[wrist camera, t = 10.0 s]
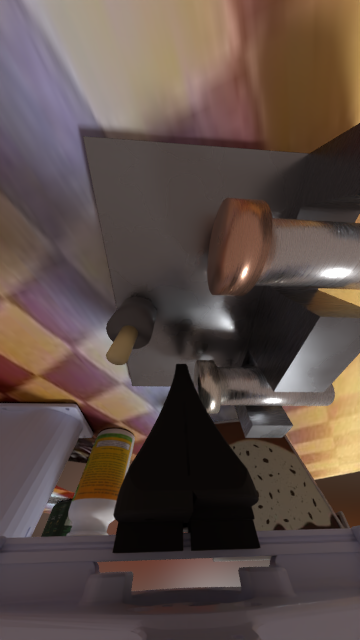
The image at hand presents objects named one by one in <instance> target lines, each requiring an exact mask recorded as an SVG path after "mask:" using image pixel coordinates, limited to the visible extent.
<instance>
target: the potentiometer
mask: <svg viewBox="0 0 360 640" xmlns="http://www.w3.org/2000/svg"><path fill="white" fill-rule="evenodd" d="M156 315H157V314H156V309H155V307H154V305H153V304H152V303H151V302H150V301H148V300H147V299H145V298H142V297H130V298H128V299H126V300H125V301H124V302H123V303H122V304H121V306H120V307H119V308H118V309H117V311H116V312H115V313H114V314H113V316H112V317H111V318H110V320H109V321H108V323H107V327H106V330H107V334H108V336H109V338H110V339H111V340H112V341H113V344H112V345H111V347H110V349H109V351H108V352H107V354H106V357H107V359H108V361H109V362H111V363H112V364H115V365H123V364H125V363H127V361H128V359H129V356H130V354H131V351H132V349H139V348H142V347H144V346H146V345H147V344H148V343H149V341H150V340H151V336H152V332H153V328H154V324H155V320H156Z"/></svg>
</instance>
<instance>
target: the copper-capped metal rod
mask: <svg viewBox="0 0 360 640" xmlns="http://www.w3.org/2000/svg"><path fill="white" fill-rule="evenodd" d="M207 280H208V287H209V291H210V293H211V294H212V295H224V296H243V295H245V294H247V293H248V292H249V291H250V290H251V289H252V288H253V287H254V285H256V286H281V287H306V288H331V289H357V290H360V223H349V222H332V221H315V220H297V219H280V218H272V213H271V209H270V207H269V205H268V203H267V202H266V201H264V200H256V199H240V198H225V199H224V200H223V202H222V203H221V205H220V207H219V210H218V212H217V215H216V218H215V221H214V225H213V229H212V233H211V239H210V244H209V252H208V263H207Z"/></svg>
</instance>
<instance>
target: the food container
mask: <svg viewBox="0 0 360 640" xmlns="http://www.w3.org/2000/svg"><path fill="white" fill-rule="evenodd" d="M214 424H215V425H216V427H217V428H218V430H219V431H220V433H221V434H222V436H223V437H224V439H225V440H226V441H227V443H228V444H229V446H230V447H231V448H232V450H233V451H234V452H235V454H236V455H237V456H238V458H239V459H240V460H241V461H242V463H243V464H244V465H245V466H246V468H247V469H248V471H249V474H250V476H251V478H252V480H253V483H254V485H255V488H256V490H257V494H258V498H259V501H258V502H257V503H256V504H255V505H253V506H252V510H253V513H254V518H255V519H253V521H254V525H255V529H256V531H273V530H309V529H345V528H350V527H349V525H348V523H347V521H346V519H345V516H344V514H343V512H338V513H335V512H334V511H333V509H332V507H331V506H330V504H329V503H328V501H327V500H326V498H325V497H324V495H323V493H322V492H321V490H320V489H319V487H318V485H317V484H316V482H315V481H314V479H313V478H312V476H311V474H310V473H309V471H308V470H307V468H306V466H305V465H304V463H303V462H302V460H301V459H300V457H299V455H298V454H297V452H296V451H295V449H294V448H293V446H292V444H291V443H290V441H289V440H288V438H287V436H286V435H284V436H283V437H282V438H245V436H244V433H243V430H242V427H241V424H240V421H239V419H236V420H226V421H216V422H214ZM271 557H272V556H253V557H224V558H213V561H244V560H270V558H271Z"/></svg>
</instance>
